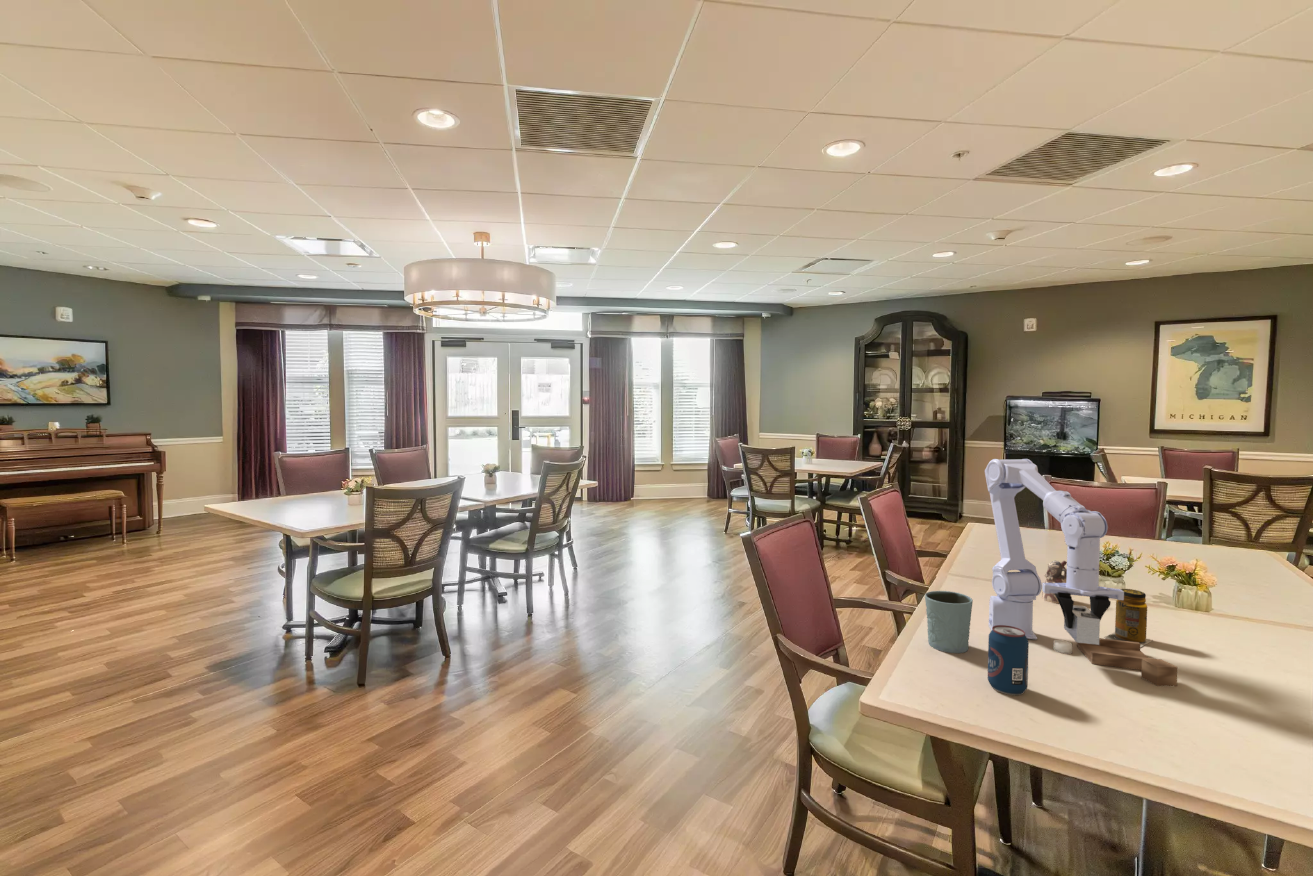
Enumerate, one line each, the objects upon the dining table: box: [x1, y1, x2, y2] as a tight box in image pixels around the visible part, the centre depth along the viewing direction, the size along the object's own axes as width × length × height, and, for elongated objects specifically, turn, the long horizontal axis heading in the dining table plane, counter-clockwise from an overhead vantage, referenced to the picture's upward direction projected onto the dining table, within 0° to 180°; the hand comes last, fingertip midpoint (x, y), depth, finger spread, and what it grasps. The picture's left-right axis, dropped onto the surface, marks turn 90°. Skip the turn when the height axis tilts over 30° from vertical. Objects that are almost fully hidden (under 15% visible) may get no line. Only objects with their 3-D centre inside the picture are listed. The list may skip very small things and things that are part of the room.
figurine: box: [1041, 560, 1072, 605], centre depth 176 cm, size 7×7×12 cm
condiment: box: [1103, 588, 1153, 648], centre depth 145 cm, size 7×8×12 cm
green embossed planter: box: [924, 590, 974, 654], centre depth 141 cm, size 10×10×12 cm
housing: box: [1063, 604, 1101, 645], centre depth 129 cm, size 4×9×6 cm, turn 160°
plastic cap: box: [1052, 639, 1073, 655], centre depth 139 cm, size 4×4×2 cm
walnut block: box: [1140, 658, 1178, 687], centre depth 122 cm, size 4×4×4 cm
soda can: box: [987, 625, 1029, 696], centre depth 119 cm, size 7×7×12 cm
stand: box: [1076, 637, 1154, 671], centre depth 134 cm, size 12×11×2 cm
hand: (1080, 628), depth 130 cm, fingers closed on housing, 4 cm apart
